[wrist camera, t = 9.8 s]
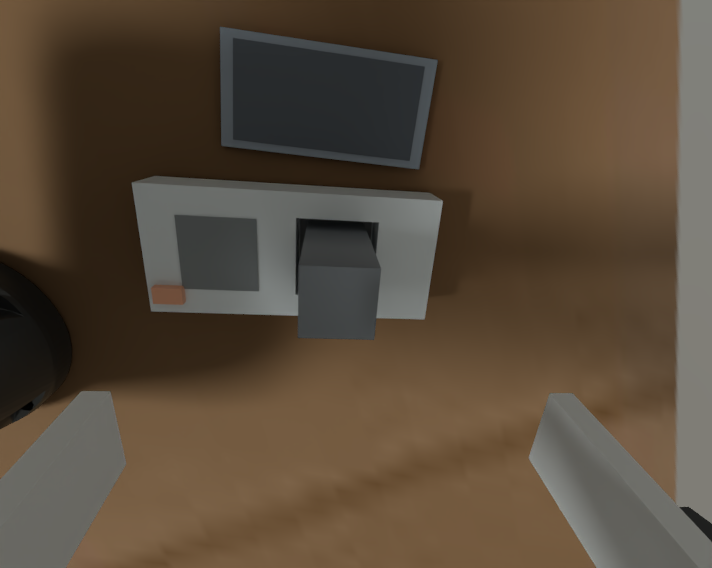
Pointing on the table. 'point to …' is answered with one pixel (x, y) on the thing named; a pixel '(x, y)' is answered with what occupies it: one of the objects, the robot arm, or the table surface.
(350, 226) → the block
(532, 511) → the table surface
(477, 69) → the table surface
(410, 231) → the power strip
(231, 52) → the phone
